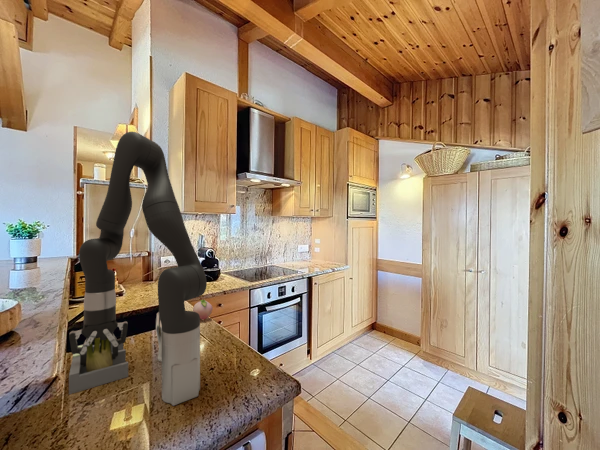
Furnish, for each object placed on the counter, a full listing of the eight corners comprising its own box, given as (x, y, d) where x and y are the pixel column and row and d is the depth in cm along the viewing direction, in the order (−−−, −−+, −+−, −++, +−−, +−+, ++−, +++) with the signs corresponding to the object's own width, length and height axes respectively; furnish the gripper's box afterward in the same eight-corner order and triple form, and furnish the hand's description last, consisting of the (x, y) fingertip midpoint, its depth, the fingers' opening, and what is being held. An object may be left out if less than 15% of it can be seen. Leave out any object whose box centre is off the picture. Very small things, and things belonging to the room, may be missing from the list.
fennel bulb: (84, 383, 72) (84, 340, 73) (91, 374, 77) (91, 333, 77) (109, 378, 75) (109, 337, 75) (114, 370, 79) (114, 330, 79)
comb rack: (128, 376, 75) (128, 358, 75) (68, 394, 67) (68, 373, 67) (123, 349, 92) (123, 334, 92) (75, 361, 84) (75, 345, 84)
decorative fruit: (190, 319, 123) (190, 298, 123) (208, 315, 127) (208, 295, 128) (196, 325, 115) (196, 302, 115) (214, 321, 120) (214, 299, 120)
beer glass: (155, 364, 82) (155, 317, 82) (156, 354, 88) (156, 311, 88) (179, 359, 85) (179, 313, 86) (178, 350, 92) (178, 308, 92)
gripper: (66, 314, 69) (65, 376, 69) (130, 304, 78) (129, 359, 78) (69, 306, 75) (68, 364, 75) (128, 298, 84) (127, 349, 84)
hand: (99, 361), depth 76 cm, fingers closed on fennel bulb, 6 cm apart
